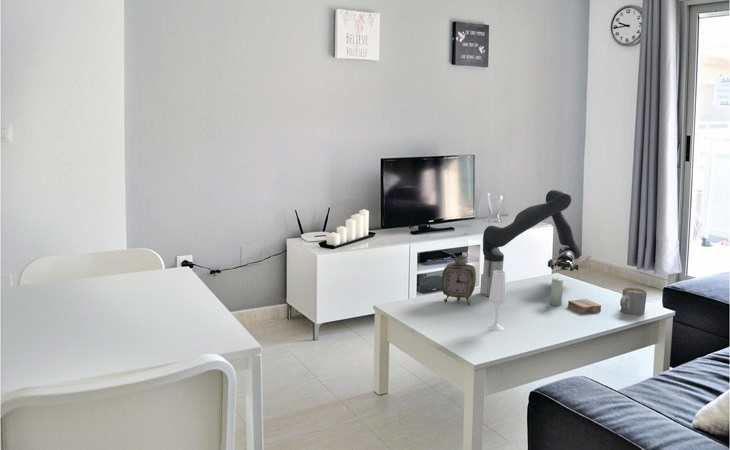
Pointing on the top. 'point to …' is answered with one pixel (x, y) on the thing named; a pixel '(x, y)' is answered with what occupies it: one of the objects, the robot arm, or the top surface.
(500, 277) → the champagne flute
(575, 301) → the walnut block
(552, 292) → the candle
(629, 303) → the coffee mug
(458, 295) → the tabletop clock
